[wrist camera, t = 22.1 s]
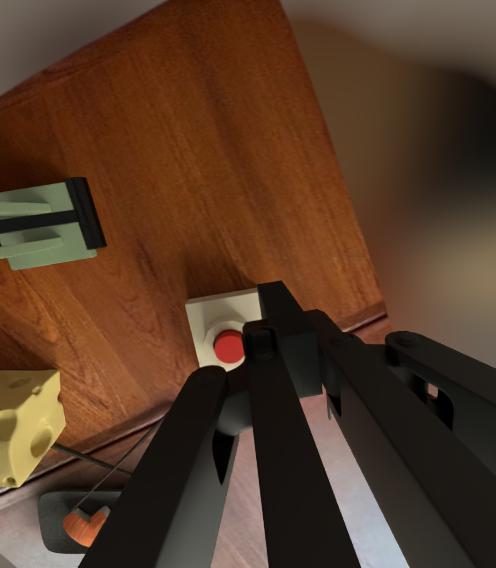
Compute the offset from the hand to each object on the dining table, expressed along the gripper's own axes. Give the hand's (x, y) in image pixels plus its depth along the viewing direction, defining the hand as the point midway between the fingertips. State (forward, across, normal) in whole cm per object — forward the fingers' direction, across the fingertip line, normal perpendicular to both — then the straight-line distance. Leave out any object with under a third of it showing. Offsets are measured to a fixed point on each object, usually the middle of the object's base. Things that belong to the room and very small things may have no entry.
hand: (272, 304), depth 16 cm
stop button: (+17, -4, -11) cm, 21 cm away
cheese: (+21, -36, -17) cm, 45 cm away
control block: (+21, -4, -12) cm, 24 cm away
